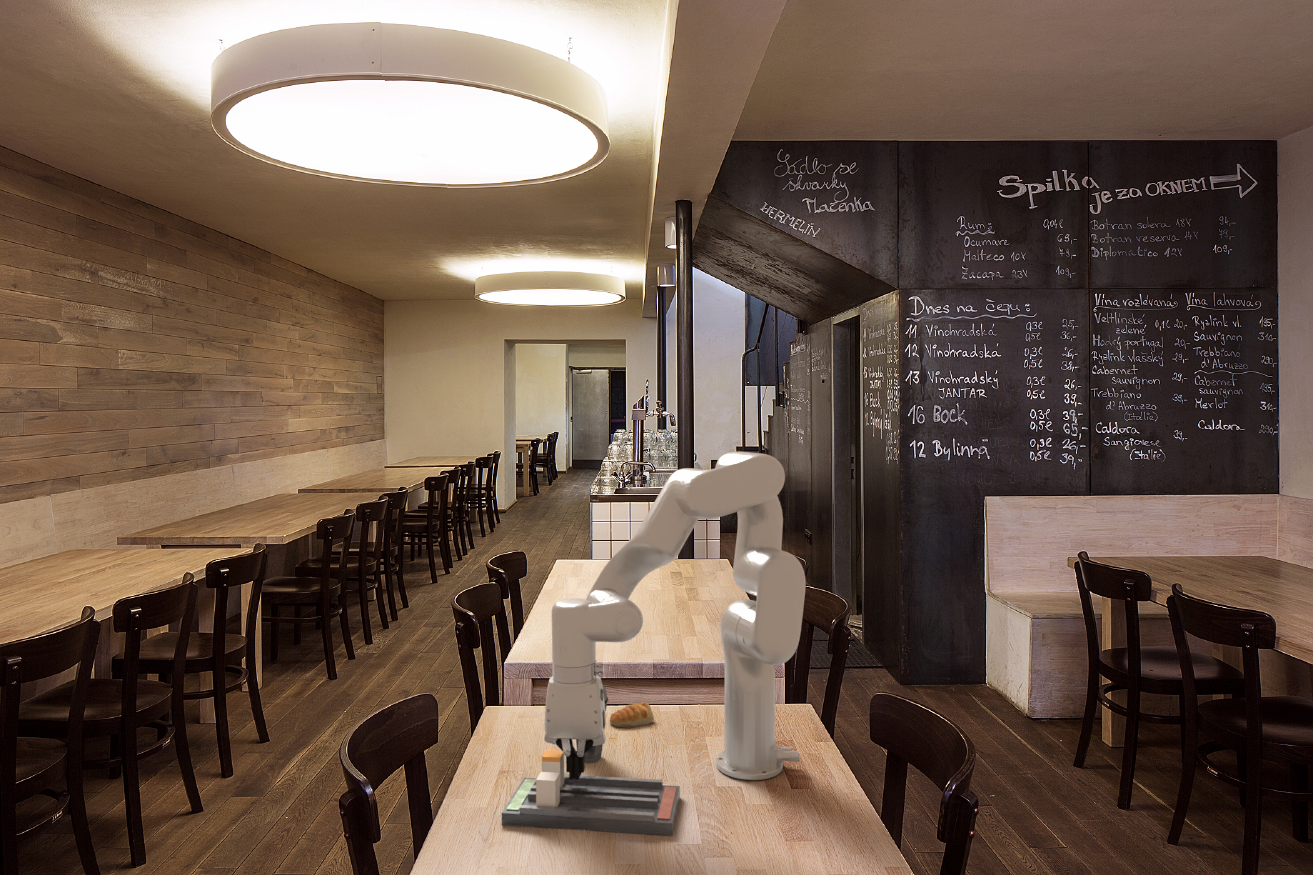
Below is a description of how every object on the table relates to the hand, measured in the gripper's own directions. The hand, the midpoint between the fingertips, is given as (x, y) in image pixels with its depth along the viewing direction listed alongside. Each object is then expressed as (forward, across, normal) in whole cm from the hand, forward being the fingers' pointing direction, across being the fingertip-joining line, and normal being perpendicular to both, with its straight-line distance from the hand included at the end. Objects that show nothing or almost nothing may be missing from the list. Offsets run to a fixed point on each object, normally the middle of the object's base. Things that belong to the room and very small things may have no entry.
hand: (575, 775), depth 140 cm
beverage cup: (+4, +1, -17) cm, 18 cm away
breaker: (+2, +3, +7) cm, 8 cm away
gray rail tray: (+4, -4, +4) cm, 7 cm away
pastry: (+5, -5, -37) cm, 38 cm away
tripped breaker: (+2, +4, 0) cm, 5 cm away
